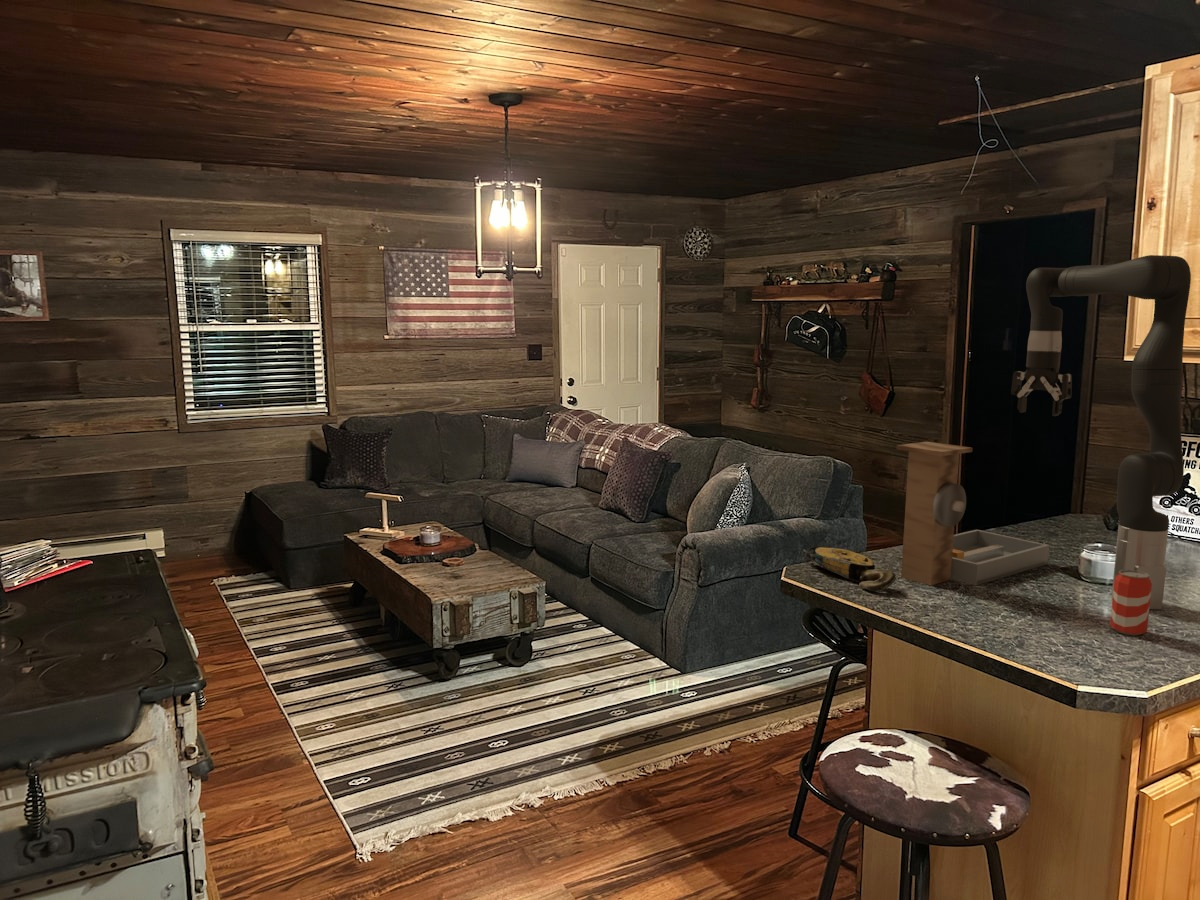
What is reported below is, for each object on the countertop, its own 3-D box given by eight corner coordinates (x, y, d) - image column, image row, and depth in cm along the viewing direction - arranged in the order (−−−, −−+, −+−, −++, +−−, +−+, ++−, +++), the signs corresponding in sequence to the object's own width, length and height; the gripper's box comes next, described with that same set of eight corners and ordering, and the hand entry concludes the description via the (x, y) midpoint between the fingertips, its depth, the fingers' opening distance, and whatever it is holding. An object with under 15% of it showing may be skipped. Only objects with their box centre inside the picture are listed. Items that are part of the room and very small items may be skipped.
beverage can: (1106, 631, 176) (1112, 573, 174) (1115, 623, 181) (1121, 567, 179) (1141, 639, 172) (1147, 580, 170) (1149, 631, 176) (1155, 573, 175)
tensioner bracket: (919, 568, 219) (927, 441, 215) (970, 582, 208) (980, 448, 203) (888, 576, 212) (896, 445, 208) (940, 591, 201) (950, 453, 196)
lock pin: (992, 552, 231) (993, 537, 230) (1006, 556, 228) (1007, 541, 227) (941, 565, 219) (942, 549, 218) (956, 569, 215) (957, 553, 215)
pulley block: (860, 569, 196) (801, 537, 225) (855, 594, 196) (797, 559, 225) (916, 575, 199) (851, 543, 228) (911, 600, 199) (847, 564, 228)
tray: (975, 547, 240) (976, 529, 240) (1047, 564, 224) (1049, 545, 223) (902, 565, 222) (904, 546, 221) (976, 585, 206) (977, 564, 205)
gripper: (1008, 348, 223) (1003, 412, 225) (1065, 350, 212) (1059, 417, 214) (1024, 348, 227) (1019, 410, 230) (1080, 350, 216) (1074, 415, 218)
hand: (1038, 414), depth 222 cm, fingers open, 8 cm apart
